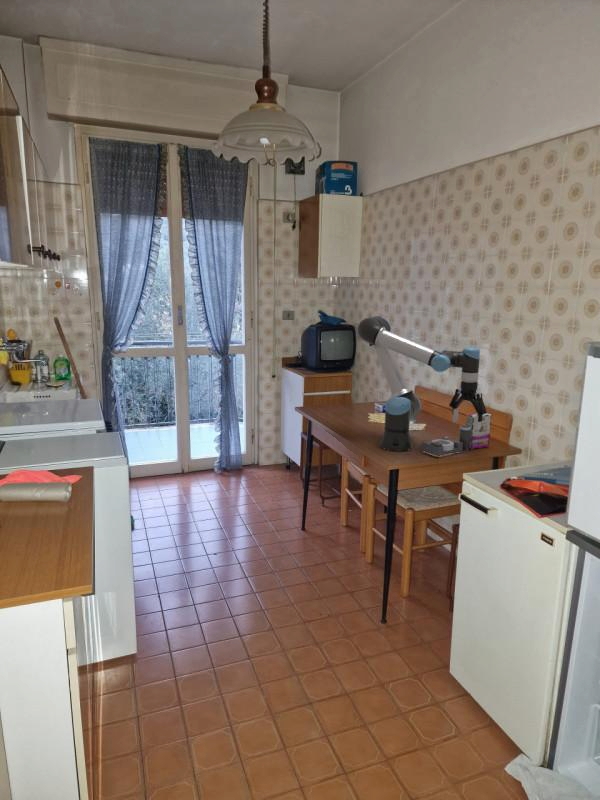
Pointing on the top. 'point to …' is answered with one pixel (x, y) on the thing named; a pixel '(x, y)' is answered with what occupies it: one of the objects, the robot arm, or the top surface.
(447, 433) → the top surface
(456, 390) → the robot arm
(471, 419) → the candy bar box
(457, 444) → the camera body
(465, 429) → the lens
